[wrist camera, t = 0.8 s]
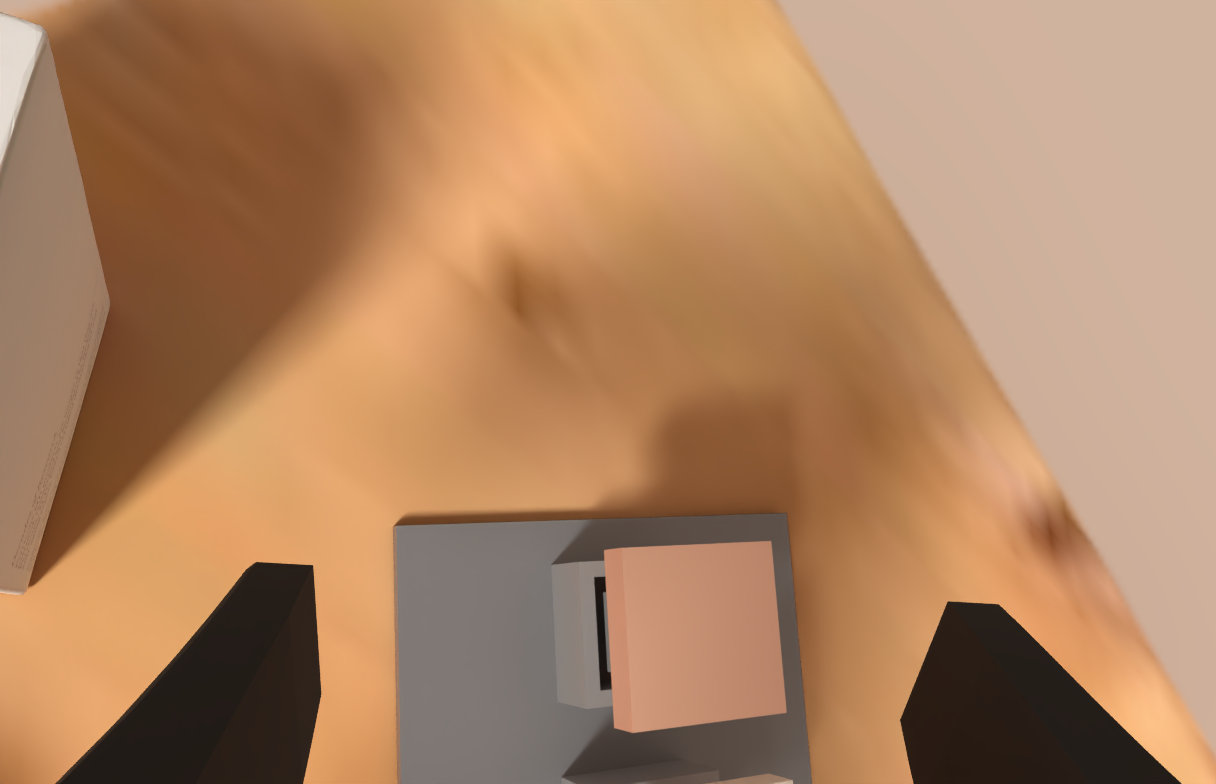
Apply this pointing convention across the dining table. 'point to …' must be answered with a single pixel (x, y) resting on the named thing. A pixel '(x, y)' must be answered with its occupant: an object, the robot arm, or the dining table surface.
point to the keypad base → (560, 659)
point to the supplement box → (39, 294)
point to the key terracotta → (692, 634)
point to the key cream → (757, 780)
